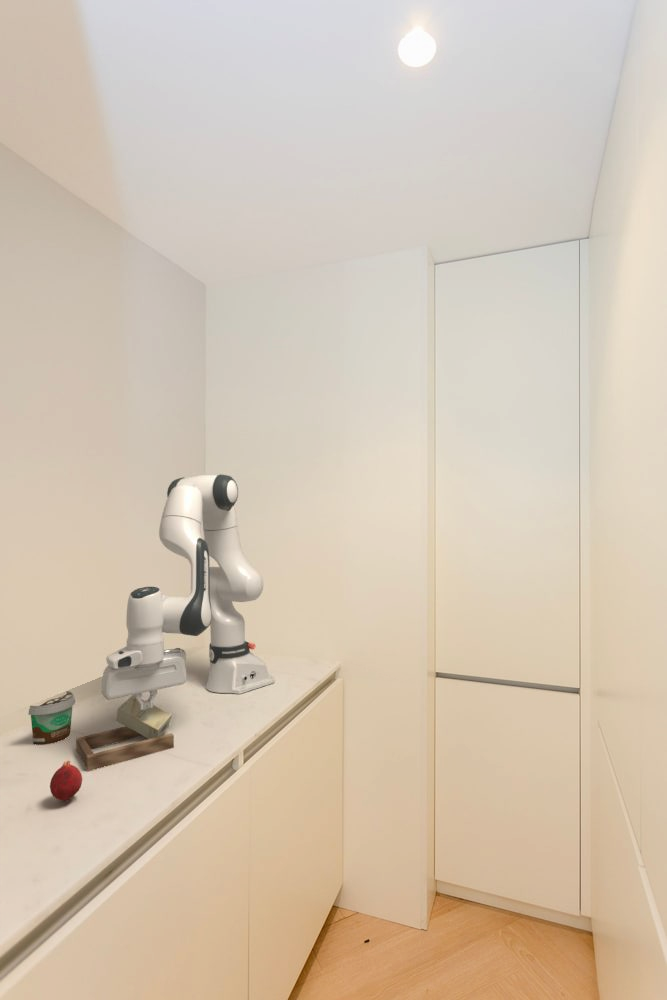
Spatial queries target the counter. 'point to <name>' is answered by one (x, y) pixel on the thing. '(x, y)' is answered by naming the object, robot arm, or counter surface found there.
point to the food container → (52, 719)
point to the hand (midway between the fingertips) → (145, 708)
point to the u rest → (118, 753)
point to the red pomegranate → (66, 782)
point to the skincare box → (143, 718)
